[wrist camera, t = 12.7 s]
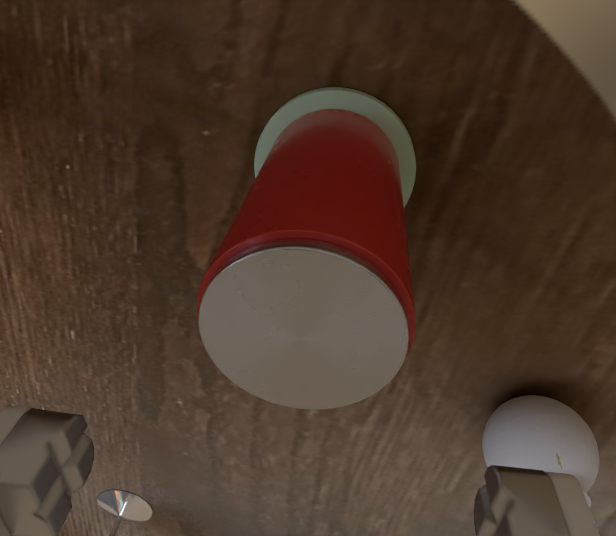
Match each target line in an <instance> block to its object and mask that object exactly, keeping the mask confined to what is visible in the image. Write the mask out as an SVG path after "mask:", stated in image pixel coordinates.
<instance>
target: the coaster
mask: <svg viewBox="0 0 616 536" xmlns="http://www.w3.org/2000/svg"><path fill="white" fill-rule="evenodd" d="M324 109H340V110H347V111H351V112H354V113H357V114H359V115H362V116H364V117H366V118H367V119H369V120H371V121H372V122H374V123H375V124H376V125H377V126H379V127H380V128H381V129H382V130H383V132H384V133H385V134H386V135H387V136H388V138H389V139H390V141H391V142H392V144H393V146H394V148H395V151H396V154H397V157H398V161H399V168H400V177H401V187H402V196H403V205H404V207H405V205H406V203H407V202H408V200H409V198H410V195H411V193H412V190H413V186H414V182H415V176H416V158H415V153H414V147H413V144H412V141H411V138H410V135H409V133H408V131H407V129H406V127H405V126H404V124H403V123H402V121H401V120H400V118H399V117H398V116H397V115H396V114H395V113H394V112H393V110H392V109H390V108H389V107H388V106H387V105H386V104H384V103H383V102H382V101H380V100H378V99H377V98H375V97H373V96H371V95H369V94H367V93H364V92H362V91H358V90H355V89H350V88H343V87H327V88H319V89H315V90H311V91H308V92H305V93H303V94H301V95H298V96H296V97H295V98H293V99H291V100H290V101H288V102H287V103H285V104H284V105H283V106H282V107H281V108H279V109H278V111H277V112H276V113H275V114H274V115H273V116H272V117H271V119H270V120H269V122H268V123H267V124H266V126H265V128H264V130H263V132H262V134H261V136H260V138H259V141H258V144H257V147H256V152H255V161H254V169H255V178H256V177H257V175H258V173H259V171H260V169H261V167H262V165H263V164H264V162H265V160H266V158H267V156H268V154H269V152H270V150H271V148H272V146H273V144H274V143H275V141H276V139H277V137H278V136H279V135H280V133H281V132H282V131H283V130H284V129H285V128H286V127H287V126H288V125H289V124H290V123H292V122H293V121H294V120H296V119H298V118H299V117H301V116H303V115H305V114H308V113H310V112H314V111H318V110H324Z"/></svg>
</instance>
